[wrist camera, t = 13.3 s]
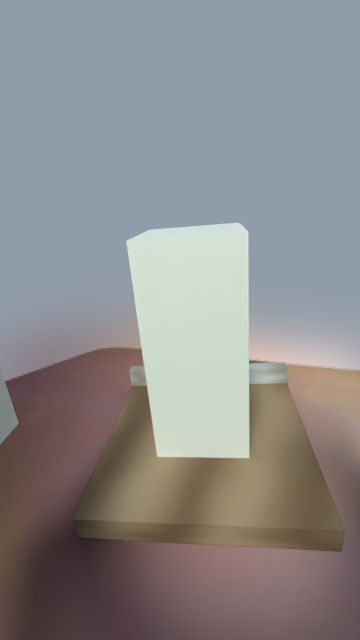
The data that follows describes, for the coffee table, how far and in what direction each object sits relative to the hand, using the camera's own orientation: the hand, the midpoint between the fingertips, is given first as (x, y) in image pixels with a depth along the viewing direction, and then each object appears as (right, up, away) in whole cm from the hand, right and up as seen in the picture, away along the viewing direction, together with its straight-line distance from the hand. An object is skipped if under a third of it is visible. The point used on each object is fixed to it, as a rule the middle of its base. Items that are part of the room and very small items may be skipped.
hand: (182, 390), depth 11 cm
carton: (+2, -5, +12) cm, 14 cm away
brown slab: (+2, -7, +12) cm, 14 cm away
